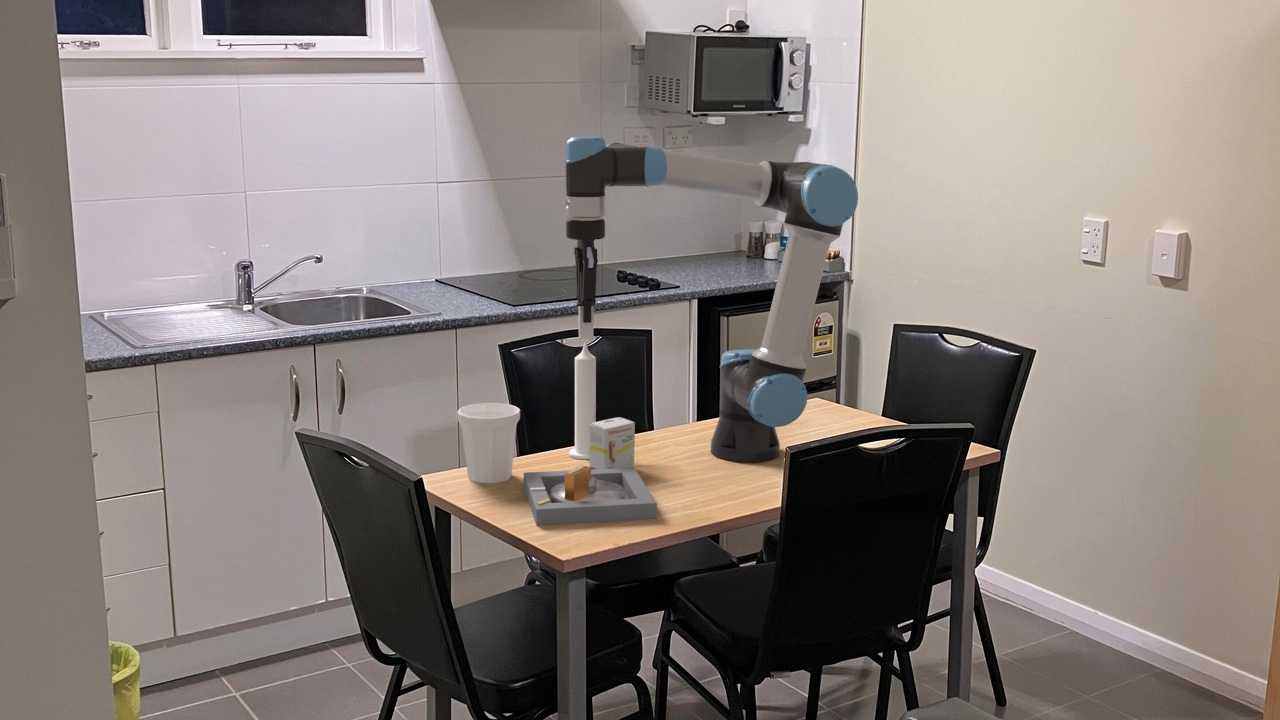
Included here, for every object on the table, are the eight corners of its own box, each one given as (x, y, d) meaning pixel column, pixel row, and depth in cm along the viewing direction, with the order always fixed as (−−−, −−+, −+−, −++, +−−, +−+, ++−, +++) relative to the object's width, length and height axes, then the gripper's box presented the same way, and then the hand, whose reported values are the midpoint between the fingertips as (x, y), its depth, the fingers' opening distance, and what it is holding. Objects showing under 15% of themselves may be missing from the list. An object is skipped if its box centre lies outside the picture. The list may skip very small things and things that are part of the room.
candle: (607, 456, 271) (607, 344, 265) (577, 461, 267) (578, 347, 262) (592, 448, 277) (592, 338, 271) (563, 452, 273) (563, 341, 268)
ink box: (604, 484, 252) (604, 428, 249) (588, 479, 255) (588, 423, 253) (635, 476, 257) (636, 421, 255) (619, 471, 261) (619, 416, 258)
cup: (469, 472, 258) (467, 401, 255) (527, 476, 257) (527, 404, 253) (450, 491, 246) (449, 416, 243) (511, 495, 245) (511, 420, 241)
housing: (633, 488, 249) (634, 465, 248) (656, 526, 228) (656, 501, 227) (523, 494, 245) (523, 471, 244) (536, 533, 224) (536, 507, 223)
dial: (575, 485, 245) (575, 449, 244) (638, 496, 239) (638, 460, 237) (536, 505, 233) (536, 467, 232) (600, 518, 227) (600, 479, 225)
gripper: (561, 214, 246) (562, 332, 251) (571, 221, 233) (572, 345, 238) (599, 214, 247) (599, 330, 252) (610, 221, 235) (610, 343, 240)
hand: (586, 337), depth 245 cm, fingers closed
